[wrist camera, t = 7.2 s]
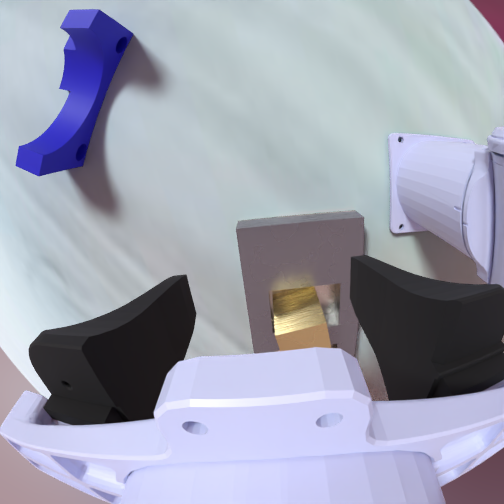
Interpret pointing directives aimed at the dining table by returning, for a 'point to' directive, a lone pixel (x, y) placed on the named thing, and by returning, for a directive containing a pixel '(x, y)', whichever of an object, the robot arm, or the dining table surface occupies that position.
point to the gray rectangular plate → (301, 270)
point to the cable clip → (78, 91)
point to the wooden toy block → (299, 320)
